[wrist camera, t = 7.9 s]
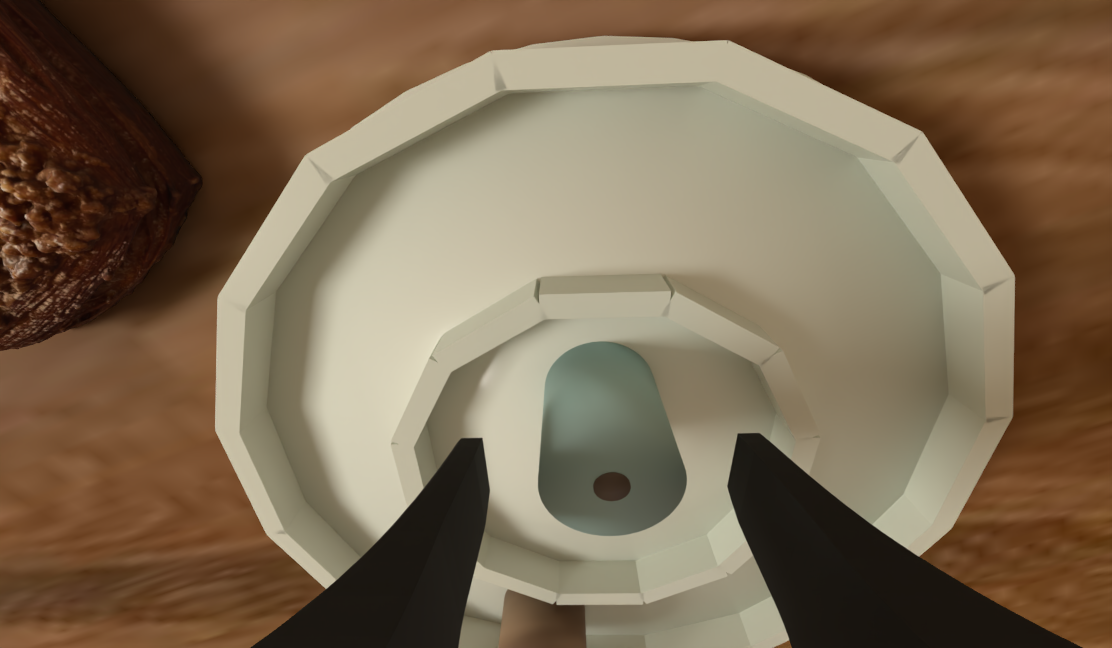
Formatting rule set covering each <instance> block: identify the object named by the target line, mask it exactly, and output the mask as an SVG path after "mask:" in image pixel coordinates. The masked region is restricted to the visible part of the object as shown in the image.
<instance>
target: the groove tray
mask: <svg viewBox="0 0 1112 648" xmlns="http://www.w3.org/2000/svg"><path fill="white" fill-rule="evenodd" d="M1014 308H1015V276H1014V273H1013V272H1012V270H1011V269H1010V267H1009V266H1008V264H1007V262H1006V261H1005V259H1004V258H1003V256H1002V255H1001V253H1000V252H999V250H998V248H997V247H996V245H995V244H994V242H993V241H992V239H991V238H990V236H989V234H988V233H987V231H986V230H985V228H984V227H983V225H982V224H981V222H980V220H979V219H978V217H977V216H976V214H975V213H974V211H973V210H972V208H971V206H970V205H969V203H968V202H967V200H966V199H965V197H964V196H963V194H962V192H961V191H960V189H959V188H958V186H957V185H956V183H955V181H954V180H953V178H952V177H951V175H950V174H949V172H948V171H947V169H946V167H945V166H944V164H943V163H942V161H941V160H940V158H939V157H938V155H937V153H936V152H935V150H934V149H933V147H932V146H931V144H930V143H929V141H928V139H927V138H926V136H925V135H924V133H923V132H922V131H920V130H918V129H916V128H913V127H911V126H909V125H907V124H905V123H903V122H901V121H899V120H897V119H894V118H892V117H890V116H888V115H886V114H884V113H882V112H880V111H877V110H875V109H873V108H871V107H869V106H867V105H865V104H863V103H860V102H858V101H856V100H854V99H852V98H850V97H848V96H846V95H844V94H841V93H839V92H837V91H835V90H833V89H831V88H829V87H827V86H824V85H823V84H821V83H819V82H817V81H816V80H814V79H812V78H811V77H809V76H807V75H805V74H802V73H800V72H797V71H794V70H792V69H789V68H786V67H784V66H782V65H780V64H778V63H776V62H774V61H771V60H769V59H767V58H765V57H763V56H761V55H759V54H757V53H754V52H752V51H750V50H748V49H746V48H744V47H742V46H740V45H738V44H735V43H733V42H731V41H727V40H719V41H697V42H692V41H687V40H682V39H676V38H655V37H625V36H598V37H589V38H581V39H573V40H565V41H557V42H549V43H541V44H533V45H529V46H526V47H522V48H519V49H515V50H494V51H492V52H491V51H490V52H488V53H486V54H484V55H483V56H481V57H479V58H477V59H475V60H474V61H472V62H470V63H466V64H464V65H462V66H459V67H457V68H455V69H453V70H451V71H449V72H447V73H444V74H442V75H440V76H438V77H436V78H434V79H431V80H429V81H427V82H425V83H423V84H421V85H419V86H416V87H414V88H412V89H410V90H408V91H406V92H404V93H403V94H401V95H400V96H398V97H397V98H395V99H394V100H392V101H391V102H389V103H388V104H386V105H385V106H383V107H382V108H380V109H379V110H377V111H376V112H374V113H373V114H371V115H370V116H368V117H367V118H365V119H364V120H363V121H361V122H360V123H358V124H357V125H355V126H354V127H352V128H351V129H350V130H349V131H347V132H345V133H343V134H342V135H340V136H338V137H336V138H335V139H333V140H331V141H329V142H327V143H326V144H324V145H322V146H320V147H318V148H317V149H315V150H313V151H311V152H310V153H308V154H306V155H305V156H304V158H303V160H302V161H301V163H300V164H299V166H298V168H297V169H296V171H295V173H294V174H293V176H292V177H291V179H290V181H289V182H288V184H287V185H286V187H285V189H284V190H283V192H282V194H281V195H280V197H279V198H278V200H277V202H276V203H275V205H274V207H273V208H272V210H271V211H270V213H269V215H268V216H267V218H266V219H265V221H264V223H263V224H262V226H261V228H260V229H259V231H258V232H257V234H256V236H255V237H254V239H253V241H252V242H251V244H250V245H249V247H248V249H247V250H246V252H245V253H244V255H243V257H242V258H241V260H240V262H239V263H238V265H237V266H236V268H235V270H234V271H233V273H232V275H231V276H230V278H229V279H228V281H227V283H226V284H225V286H224V287H223V289H222V291H221V292H220V294H219V296H218V301H217V355H216V410H215V431H216V433H217V435H218V437H219V439H220V441H221V443H222V445H223V447H224V449H225V451H226V453H227V455H228V457H229V459H230V461H231V463H232V465H233V467H234V469H235V471H236V473H237V475H238V478H239V480H240V482H241V484H242V486H243V488H244V490H245V492H246V494H247V496H248V498H249V500H250V502H251V504H252V506H253V508H254V510H255V512H256V514H257V516H258V518H259V520H260V522H261V524H262V526H263V528H264V530H265V532H266V534H267V535H268V536H269V537H270V538H271V539H272V540H273V541H274V542H275V543H276V544H278V545H279V546H280V547H281V548H282V549H283V550H284V551H285V552H286V553H287V554H288V555H290V556H291V557H292V558H293V559H294V560H295V561H296V562H297V563H298V564H299V565H301V566H302V567H303V568H304V569H305V570H306V571H307V572H308V573H309V574H310V575H312V576H313V577H314V578H315V579H316V580H317V581H318V582H319V583H320V584H321V585H322V586H324V587H325V588H326V589H327V588H328V587H329V586H330V585H331V584H333V583H334V582H335V581H336V580H337V579H338V578H339V577H340V576H341V575H343V574H344V573H345V572H346V571H347V570H348V569H349V568H350V567H351V566H352V565H353V564H354V563H356V562H357V561H358V560H359V559H360V558H361V557H362V556H363V555H364V554H365V553H366V552H367V551H368V550H369V549H370V548H371V547H372V546H373V545H374V544H375V543H376V542H377V541H378V540H379V539H380V538H381V537H382V536H383V535H384V534H385V533H386V531H387V530H388V529H389V528H390V527H391V526H392V525H393V524H394V523H395V522H396V520H397V519H398V518H399V517H400V516H401V515H402V514H403V512H404V511H405V510H406V509H407V508H408V507H409V505H410V504H411V503H412V502H413V501H414V500H415V498H416V497H417V496H418V495H419V493H420V492H421V491H422V490H423V488H424V487H425V486H426V484H427V483H428V482H429V481H430V479H431V478H432V477H433V476H434V474H435V473H436V471H437V470H438V469H439V467H440V466H441V465H442V463H443V462H444V461H445V459H446V458H447V456H448V455H449V454H450V452H451V451H452V449H453V448H454V446H455V445H456V443H457V442H458V441H459V440H460V439H461V438H483V445H484V452H485V459H486V466H487V472H488V479H489V486H490V494H489V502H488V510H487V518H486V525H485V529H484V534H483V538H482V542H481V546H480V550H479V555H478V559H477V563H476V567H475V571H474V575H473V579H472V583H471V587H470V591H469V595H468V600H467V604H466V608H465V613H464V617H463V622H462V627H461V634H460V640H459V646H458V648H498V645H499V637H500V629H501V621H502V613H503V605H504V597H505V593H506V591H507V590H508V589H509V590H512V591H515V592H518V593H521V594H524V595H527V596H530V597H533V598H536V599H539V600H542V601H545V602H548V603H550V604H554V603H555V602H556V604H557V605H585V624H586V647H587V648H773V647H775V646H777V645H780V644H782V643H784V642H786V641H788V640H789V637H788V635H787V632H786V629H785V626H784V624H783V621H782V619H781V616H780V614H779V612H778V609H777V607H776V605H775V602H774V600H773V598H772V596H771V594H770V591H769V589H768V587H767V585H766V583H765V580H764V578H763V576H762V574H761V572H760V569H759V567H758V565H757V563H756V561H755V559H754V556H753V554H752V552H751V550H750V548H749V545H748V543H747V541H746V539H745V536H744V534H743V532H742V530H741V527H740V525H739V523H738V520H737V517H736V514H735V511H734V508H733V504H732V501H731V498H730V494H729V491H728V488H727V485H728V480H729V475H730V470H731V465H732V459H733V454H734V449H735V444H736V439H737V434H738V433H760V434H762V435H763V436H764V437H765V438H766V439H768V440H769V441H770V442H771V443H772V444H773V445H775V446H776V447H777V448H778V449H779V450H780V451H782V452H783V453H784V454H785V455H786V456H787V457H788V458H790V459H791V460H792V461H793V462H794V463H795V464H797V465H798V466H799V467H800V468H801V469H802V470H804V471H805V472H806V473H807V474H808V475H809V476H811V477H812V478H813V479H814V480H815V481H817V482H818V483H819V484H820V485H821V486H823V487H824V488H825V489H826V490H828V491H829V492H830V493H831V494H833V495H834V496H835V497H836V498H838V499H839V500H840V501H841V502H843V503H844V504H845V505H847V506H848V507H849V508H851V509H852V510H853V511H854V512H856V513H857V514H858V515H860V516H861V517H862V518H864V519H865V520H866V521H868V522H869V523H870V524H872V525H873V526H875V527H876V528H877V529H879V530H880V531H882V532H883V533H884V534H886V535H887V536H889V537H890V538H892V539H893V540H895V541H896V542H898V543H899V544H901V545H902V546H904V547H905V548H907V549H908V550H910V551H911V552H913V553H914V554H916V555H917V556H920V555H921V554H923V553H924V552H925V551H926V550H927V549H928V548H930V547H931V546H932V545H933V544H934V543H935V542H936V541H938V540H939V539H940V538H941V537H942V536H943V535H945V534H946V533H947V532H948V531H949V530H950V529H951V528H952V527H953V525H954V523H955V522H956V520H957V518H958V516H959V514H960V512H961V511H962V509H963V507H964V505H965V503H966V501H967V500H968V498H969V496H970V494H971V492H972V490H973V489H974V487H975V485H976V483H977V481H978V480H979V478H980V476H981V474H982V472H983V470H984V469H985V467H986V465H987V463H988V461H989V459H990V458H991V456H992V454H993V452H994V450H995V448H996V447H997V445H998V443H999V441H1000V439H1001V438H1002V436H1003V434H1004V432H1005V430H1006V428H1007V427H1008V425H1009V423H1010V421H1011V419H1012V416H1013V378H1014ZM599 341H602V342H613V343H617V344H621V345H624V346H626V347H629V348H630V349H632V350H634V351H635V352H637V353H638V354H639V355H640V356H641V357H642V358H643V359H644V360H645V361H646V362H647V364H648V365H649V367H650V369H651V371H652V374H653V377H654V379H655V382H656V385H657V388H658V391H659V394H660V397H661V400H662V403H663V405H664V408H665V411H666V414H667V417H668V420H669V423H670V426H671V429H672V431H673V434H674V437H675V440H676V443H677V446H678V449H679V452H680V455H681V458H682V460H683V463H684V466H685V469H686V475H687V485H686V490H685V493H684V496H683V498H682V500H681V502H680V503H679V505H678V506H677V507H676V509H675V510H674V511H673V512H672V513H671V514H670V515H669V516H668V517H667V518H665V519H664V520H662V521H661V522H659V523H658V524H656V525H654V526H652V527H650V528H648V529H646V530H643V531H640V532H637V533H632V534H628V535H621V536H598V535H591V534H587V533H583V532H580V531H577V530H574V529H572V528H570V527H567V526H566V525H564V524H562V523H561V522H559V521H558V520H557V519H555V518H554V517H553V516H552V515H551V514H550V513H549V512H548V510H547V509H546V508H545V506H544V504H543V503H542V501H541V498H540V495H539V491H538V472H539V458H540V444H541V430H542V416H543V402H544V389H545V381H546V377H547V374H548V372H549V370H550V368H551V366H552V365H553V364H554V362H555V361H556V360H557V359H558V358H559V357H560V356H561V355H562V354H564V353H565V352H567V351H568V350H570V349H572V348H574V347H576V346H579V345H582V344H585V343H590V342H599Z"/></svg>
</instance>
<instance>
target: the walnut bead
mask: <svg viewBox="0 0 1112 648" xmlns="http://www.w3.org/2000/svg"><path fill="white" fill-rule="evenodd" d="M498 648H587V647H586V624H585V605H557V604H556V602H555V603H554V604H550V603H548V602H545V601H542V600H539V599H536V598H533V597H530V596H527V595H524V594H521V593H518V592H515V591H512V590H509V589H508V590H507V591H506V593H505V597H504V605H503V613H502V621H501V629H500V637H499V645H498Z"/></svg>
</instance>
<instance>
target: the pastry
mask: <svg viewBox="0 0 1112 648" xmlns="http://www.w3.org/2000/svg"><path fill="white" fill-rule="evenodd" d="M201 187H202V178H201V176H200V175H199V174H198V172H197V171H196V170H195V169H194V168H193V167H192V166H191V165H190V164H189V163H188V161H187V160H186V159H185V157H184V156H183V154H182V153H181V151H180V150H179V149H178V148H177V146H176V145H175V144H174V143H173V142H172V141H171V140H170V138H169V137H168V136H167V135H166V134H165V132H164V131H163V130H162V128H161V127H160V126H159V124H158V123H157V122H156V121H155V119H154V118H153V117H152V116H151V115H150V114H149V112H148V111H147V110H146V109H145V108H144V106H143V105H142V104H141V103H140V102H139V101H138V100H137V99H136V98H135V97H134V96H133V94H132V93H131V92H130V91H129V90H128V89H127V88H126V87H125V86H124V85H123V84H122V83H121V82H120V81H119V80H118V79H117V78H116V77H115V76H114V75H113V74H112V73H111V72H110V71H109V70H108V69H107V68H106V67H105V66H104V65H103V64H102V63H101V61H100V60H99V59H98V58H97V57H96V56H95V55H94V54H93V53H92V52H91V51H90V50H89V49H88V48H87V47H86V46H84V45H83V44H82V43H81V42H80V41H79V40H78V39H77V38H76V37H75V36H74V35H72V34H71V33H70V32H69V31H68V30H67V29H66V28H65V27H64V26H63V25H62V24H61V23H60V22H59V21H58V20H57V19H56V18H55V17H54V16H53V15H52V14H51V13H50V12H49V11H48V10H47V9H46V8H45V6H44V5H43V4H42V3H41V2H40V0H0V351H2V350H7V349H19V348H22V347H26V346H29V345H33V344H35V343H40V342H42V341H44V340H46V339H48V338H50V337H52V336H54V335H55V334H58V333H61V332H65V331H67V330H69V329H71V328H75V327H78V326H81V325H83V324H85V323H87V322H89V321H91V320H93V319H95V318H96V317H97V316H99V315H100V314H102V313H104V312H105V311H106V310H107V309H109V308H111V307H113V306H114V305H115V304H117V303H118V302H119V301H120V300H121V299H122V298H123V297H124V296H126V295H128V294H131V293H133V291H134V289H135V286H136V285H137V284H140V283H141V282H142V281H143V280H144V278H145V276H146V275H147V274H148V272H149V269H150V268H151V267H152V266H153V265H154V264H155V263H156V262H158V261H159V260H161V258H162V257H163V255H164V253H165V252H166V251H167V250H168V249H170V248H171V247H172V246H173V244H174V241H175V239H176V236H177V234H178V232H179V229H180V228H181V226H182V224H183V223H184V222H185V220H186V218H187V210H188V207H189V206H190V204H191V203H192V202H193V200H194V198H195V195H196V193H197V192H198V190H199V189H200V188H201Z"/></svg>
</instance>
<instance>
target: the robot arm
mask: <svg viewBox="0 0 1112 648" xmlns="http://www.w3.org/2000/svg"><path fill="white" fill-rule="evenodd" d="M727 488H728V491H729V494H730V498H731V501H732V504H733V508H734V511H735V514H736V517H737V520H738V523H739V525H740V527H741V530H742V532H743V534H744V536H745V539H746V541H747V543H748V545H749V548H750V550H751V552H752V554H753V556H754V559H755V561H756V563H757V565H758V567H759V569H760V572H761V574H762V576H763V578H764V580H765V583H766V585H767V587H768V589H769V591H770V594H771V596H772V598H773V600H774V602H775V605H776V607H777V609H778V612H779V614H780V616H781V619H782V621H783V624H784V626H785V629H786V632H787V635H788V637H789V640H790V643H791V646H792V648H1082V647H1080V646H1078V645H1076V644H1074V643H1072V642H1070V641H1068V640H1066V639H1064V638H1062V637H1060V636H1058V635H1056V634H1054V633H1052V632H1050V631H1048V630H1046V629H1044V628H1042V627H1040V626H1038V625H1037V624H1035V623H1033V622H1031V621H1029V620H1027V619H1025V618H1023V617H1022V616H1020V615H1018V614H1016V613H1014V612H1012V611H1010V610H1008V609H1007V608H1005V607H1003V606H1001V605H999V604H997V603H996V602H994V601H992V600H990V599H989V598H987V597H985V596H983V595H982V594H980V593H978V592H976V591H974V590H973V589H971V588H969V587H968V586H966V585H964V584H963V583H961V582H959V581H958V580H956V579H954V578H953V577H951V576H949V575H948V574H946V573H944V572H943V571H941V570H939V569H938V568H936V567H934V566H933V565H931V564H930V563H928V562H927V561H925V560H923V559H922V558H920V557H919V556H917V555H916V554H914V553H913V552H911V551H910V550H908V549H907V548H905V547H904V546H902V545H901V544H899V543H898V542H896V541H895V540H893V539H892V538H890V537H889V536H887V535H886V534H884V533H883V532H882V531H880V530H879V529H877V528H876V527H875V526H873V525H872V524H870V523H869V522H868V521H866V520H865V519H864V518H862V517H861V516H860V515H858V514H857V513H856V512H854V511H853V510H852V509H851V508H849V507H848V506H847V505H845V504H844V503H843V502H841V501H840V500H839V499H838V498H836V497H835V496H834V495H833V494H831V493H830V492H829V491H828V490H826V489H825V488H824V487H823V486H821V485H820V484H819V483H818V482H817V481H815V480H814V479H813V478H812V477H811V476H809V475H808V474H807V473H806V472H805V471H804V470H802V469H801V468H800V467H799V466H798V465H797V464H795V463H794V462H793V461H792V460H791V459H790V458H788V457H787V456H786V455H785V454H784V453H783V452H782V451H780V450H779V449H778V448H777V447H776V446H775V445H773V444H772V443H771V442H770V441H769V440H768V439H766V438H765V437H764V436H763V435H762V434H760V433H738V434H737V439H736V444H735V449H734V454H733V459H732V465H731V470H730V475H729V480H728V485H727ZM489 494H490V486H489V479H488V472H487V466H486V459H485V452H484V445H483V438H461V439H460V440H459V441H458V442H457V443H456V445H455V446H454V448H453V449H452V451H451V452H450V454H449V455H448V456H447V458H446V459H445V461H444V462H443V463H442V465H441V466H440V467H439V469H438V470H437V471H436V473H435V474H434V476H433V477H432V478H431V479H430V481H429V482H428V483H427V484H426V486H425V487H424V488H423V490H422V491H421V492H420V493H419V495H418V496H417V497H416V498H415V500H414V501H413V502H412V503H411V504H410V505H409V507H408V508H407V509H406V510H405V511H404V512H403V514H402V515H401V516H400V517H399V518H398V519H397V520H396V522H395V523H394V524H393V525H392V526H391V527H390V528H389V529H388V530H387V531H386V533H385V534H384V535H383V536H382V537H381V538H380V539H379V540H378V541H377V542H376V543H375V544H374V545H373V546H372V547H371V548H370V549H369V550H368V551H367V552H366V553H365V554H364V555H363V556H362V557H361V558H360V559H359V560H358V561H357V562H356V563H354V564H353V565H352V566H351V567H350V568H349V569H348V570H347V571H346V572H345V573H344V574H343V575H341V576H340V577H339V578H338V579H337V580H336V581H335V582H334V583H333V584H331V585H330V586H329V587H328V588H327V589H326V590H324V591H323V592H322V593H321V594H320V595H319V596H317V597H316V598H315V599H314V600H312V601H311V602H310V603H309V604H307V605H306V606H305V607H304V608H302V609H301V610H300V611H299V612H297V613H296V614H295V615H294V616H292V617H291V618H290V619H289V620H287V621H286V622H285V623H284V624H282V625H281V626H280V627H278V628H277V629H276V630H274V631H273V632H272V633H270V634H269V635H268V636H266V637H265V638H263V639H262V640H261V641H259V642H258V643H256V644H255V645H253V646H252V647H251V648H458V646H459V640H460V634H461V627H462V622H463V617H464V613H465V608H466V604H467V600H468V595H469V591H470V587H471V583H472V579H473V575H474V571H475V567H476V563H477V559H478V555H479V550H480V546H481V542H482V538H483V534H484V529H485V525H486V518H487V510H488V502H489Z"/></svg>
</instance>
